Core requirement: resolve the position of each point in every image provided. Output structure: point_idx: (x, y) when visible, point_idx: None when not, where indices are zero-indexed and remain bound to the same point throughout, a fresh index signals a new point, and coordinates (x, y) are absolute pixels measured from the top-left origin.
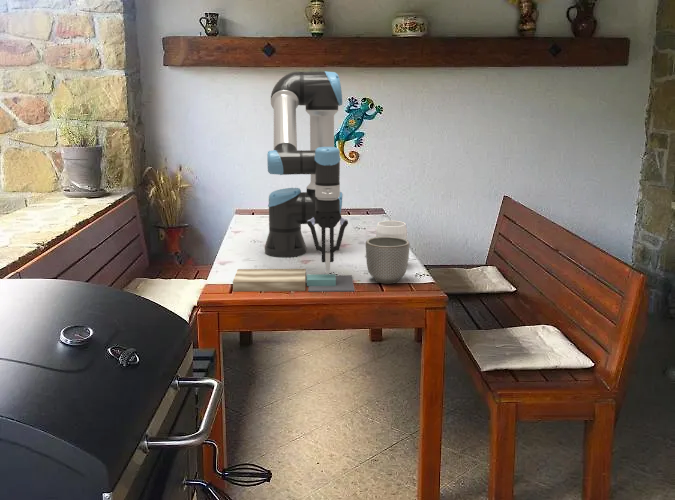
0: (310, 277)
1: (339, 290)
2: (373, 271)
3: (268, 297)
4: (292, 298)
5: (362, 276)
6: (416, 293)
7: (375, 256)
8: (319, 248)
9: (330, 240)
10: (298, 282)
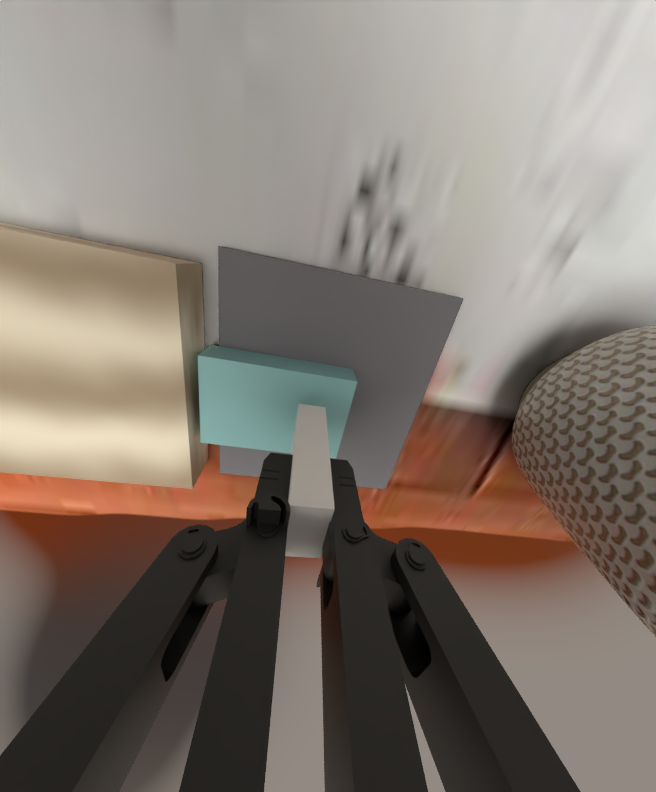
0: (218, 412)
1: None
2: (522, 472)
3: (76, 499)
4: (168, 514)
5: (510, 308)
6: (549, 518)
7: (595, 565)
8: (213, 602)
9: (331, 737)
10: (163, 482)
